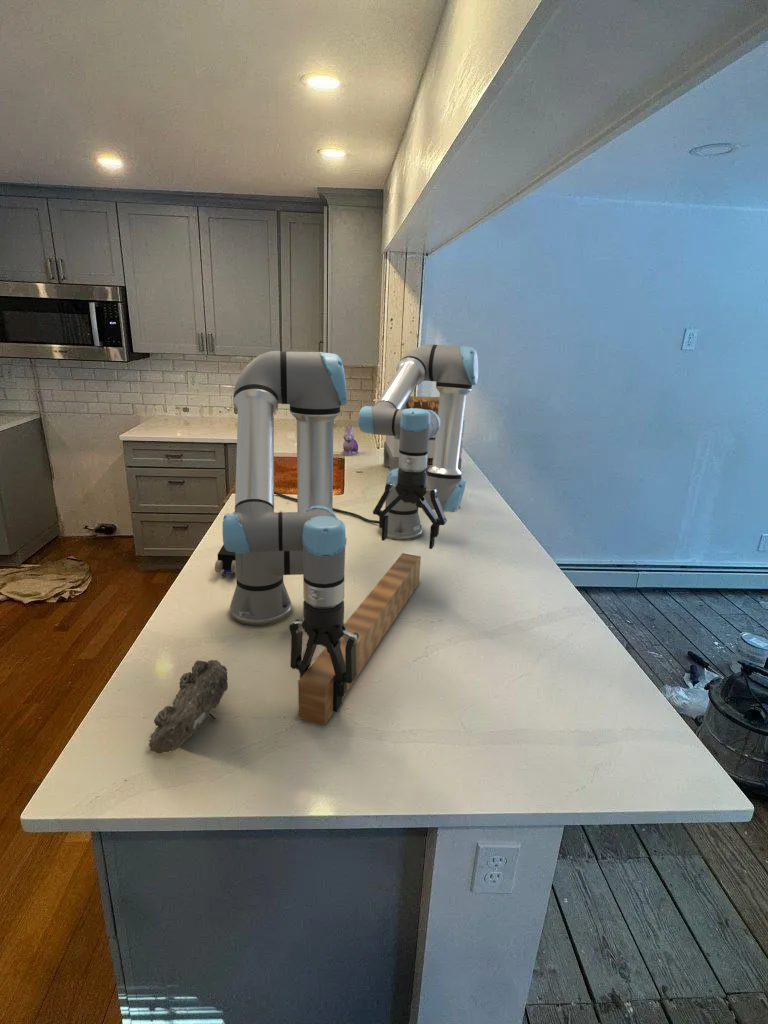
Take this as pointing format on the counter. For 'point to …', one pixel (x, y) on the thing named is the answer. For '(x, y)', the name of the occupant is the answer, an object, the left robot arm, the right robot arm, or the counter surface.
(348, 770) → the counter surface
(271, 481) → the left robot arm
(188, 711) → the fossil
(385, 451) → the grey wooden crate
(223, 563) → the black toy vehicle
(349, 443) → the figurine
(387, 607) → the post
